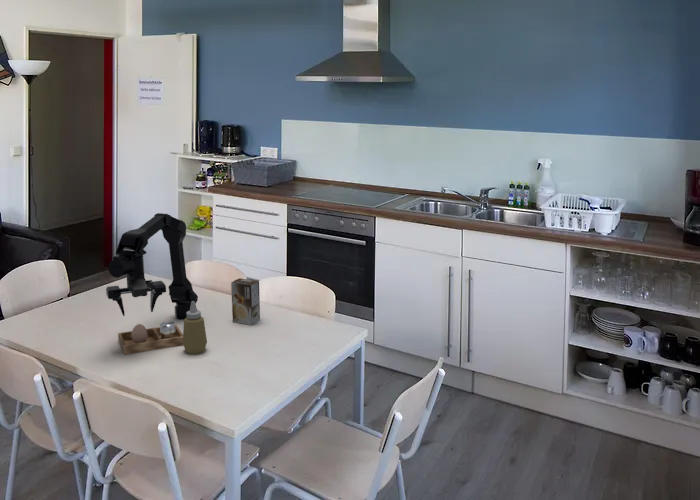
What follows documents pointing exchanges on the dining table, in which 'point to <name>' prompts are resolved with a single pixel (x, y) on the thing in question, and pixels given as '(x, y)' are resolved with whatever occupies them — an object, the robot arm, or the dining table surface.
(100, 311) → the dining table surface
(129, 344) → the crate
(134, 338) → the egg
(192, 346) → the squeeze bottle
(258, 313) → the coffee box
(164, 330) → the tin
